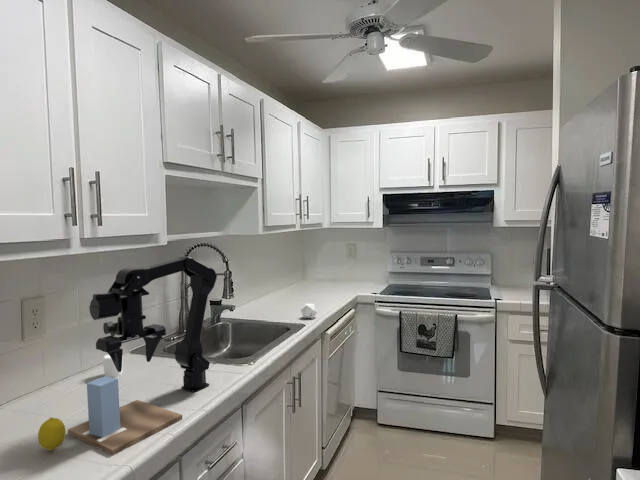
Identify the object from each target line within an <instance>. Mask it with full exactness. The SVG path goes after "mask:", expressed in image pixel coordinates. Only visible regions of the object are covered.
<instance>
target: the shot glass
mask: <svg viewBox="0 0 640 480" xmlns="http://www.w3.org/2000/svg"><path fill="white" fill-rule="evenodd" d="M101 359H102V366H103V372H104V376H106V377H111V378H116V377H118V376H121V375H122V374H123V366H124V365H123V363H124V362H123V361H124V354H123V355H122V369H121V372H118V371H117V369H116V367H115V365H114V363H113V361H112V359H111V357H110V355H109V354H108V353H107V354H105V355H103V356H102V358H101Z"/></svg>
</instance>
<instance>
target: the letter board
mask: <svg viewBox="0 0 640 480" xmlns="http://www.w3.org/2000/svg"><path fill="white" fill-rule="evenodd" d="M119 409H120V429H118V430H117V431H115V432H113V433H111V434H109V435H107V436H106V437H104V438H102V437H98V436H95V435H91V434H89V420H86V421H84V422H82V423H79V424H77V425H74V426H72V427H69V428H68V429H67V434H68V435H69V436H72V437H74V438H76V439H78V440H80V441H82V442H84V443H86V444H89V445H91V446H93V447H95V448H97V449H99V450H101V451H103V452H106V453H108V454H109V455H112V456H114V455H116V454H118V453H120V452H122V451H124V450H126V449H128V448H130V447H131V446H134V445H135V444H138V443H139V442H141V441H143V440H145V439H147V438H149V437H151V436H152V435H154V434H156V433H158V432H160V431H162V430H164V429H166V428H168V427H170V426H171V425H174V424H176V423H178V422H180V421H181V420H183V414H181V413H178V412H175V411H172V410H169V409H166V408H162V407H160V406H157V405H155V404H152V403H151V404H150V403H147V402H145V401H143V400H140V399H139V400H138V399H136V400H134V401H132V402H129V403H127V404H124V405H122V406H119Z"/></svg>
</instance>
